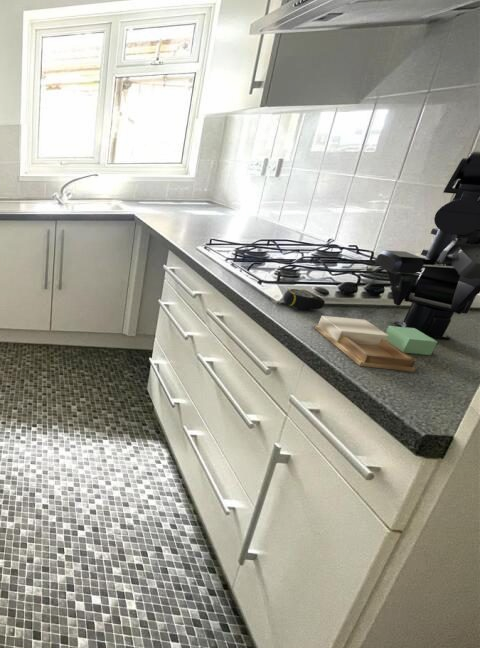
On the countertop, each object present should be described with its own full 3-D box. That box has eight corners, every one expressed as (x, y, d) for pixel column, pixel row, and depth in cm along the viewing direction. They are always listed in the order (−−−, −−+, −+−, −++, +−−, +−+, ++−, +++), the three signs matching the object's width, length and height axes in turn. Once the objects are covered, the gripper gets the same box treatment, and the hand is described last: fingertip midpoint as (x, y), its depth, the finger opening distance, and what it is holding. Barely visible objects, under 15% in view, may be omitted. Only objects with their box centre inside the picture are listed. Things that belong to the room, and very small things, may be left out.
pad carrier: (314, 328, 91) (319, 315, 90) (359, 332, 89) (365, 319, 88) (359, 365, 77) (366, 350, 75) (414, 371, 75) (421, 356, 74)
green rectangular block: (382, 338, 87) (388, 325, 86) (408, 341, 86) (414, 328, 85) (402, 352, 81) (409, 339, 80) (430, 355, 80) (437, 341, 79)
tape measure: (322, 313, 98) (328, 298, 97) (292, 312, 99) (298, 297, 97) (303, 302, 105) (308, 288, 103) (275, 301, 105) (279, 287, 104)
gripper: (435, 234, 69) (396, 319, 75) (580, 241, 65) (526, 330, 71) (389, 220, 79) (358, 296, 85) (513, 226, 75) (471, 305, 81)
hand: (425, 307), depth 80 cm, fingers open, 9 cm apart
